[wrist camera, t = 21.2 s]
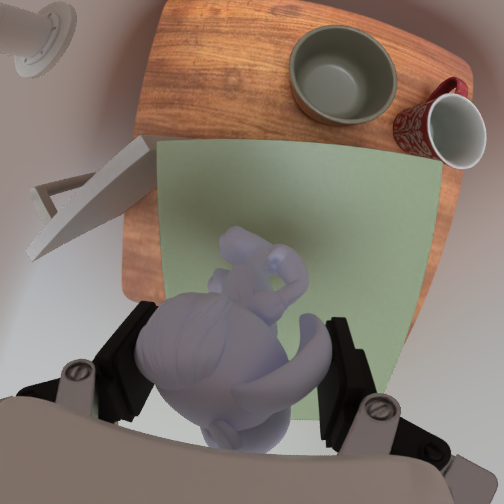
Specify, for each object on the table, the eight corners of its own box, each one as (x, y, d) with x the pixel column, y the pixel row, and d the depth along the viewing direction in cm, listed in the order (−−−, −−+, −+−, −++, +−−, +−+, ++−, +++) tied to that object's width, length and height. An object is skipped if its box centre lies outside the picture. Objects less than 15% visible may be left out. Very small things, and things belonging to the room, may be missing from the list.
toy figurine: (215, 202, 17) (97, 307, 6) (320, 235, 17) (372, 389, 6) (192, 300, 19) (111, 447, 8) (282, 328, 19) (272, 494, 8)
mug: (426, 172, 38) (473, 183, 26) (379, 144, 38) (417, 144, 25) (449, 105, 34) (499, 97, 21) (404, 76, 34) (446, 54, 21)
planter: (352, 144, 38) (374, 143, 28) (274, 108, 38) (271, 94, 28) (382, 76, 34) (410, 57, 24) (306, 39, 34) (312, 9, 23)
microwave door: (99, 180, 44) (4, 208, 24) (189, 108, 39) (110, 82, 19) (120, 215, 46) (32, 262, 26) (214, 148, 41) (149, 150, 20)
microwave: (206, 311, 50) (164, 403, 30) (202, 144, 41) (129, 143, 20) (345, 320, 48) (372, 418, 28) (368, 153, 39) (443, 161, 18)
